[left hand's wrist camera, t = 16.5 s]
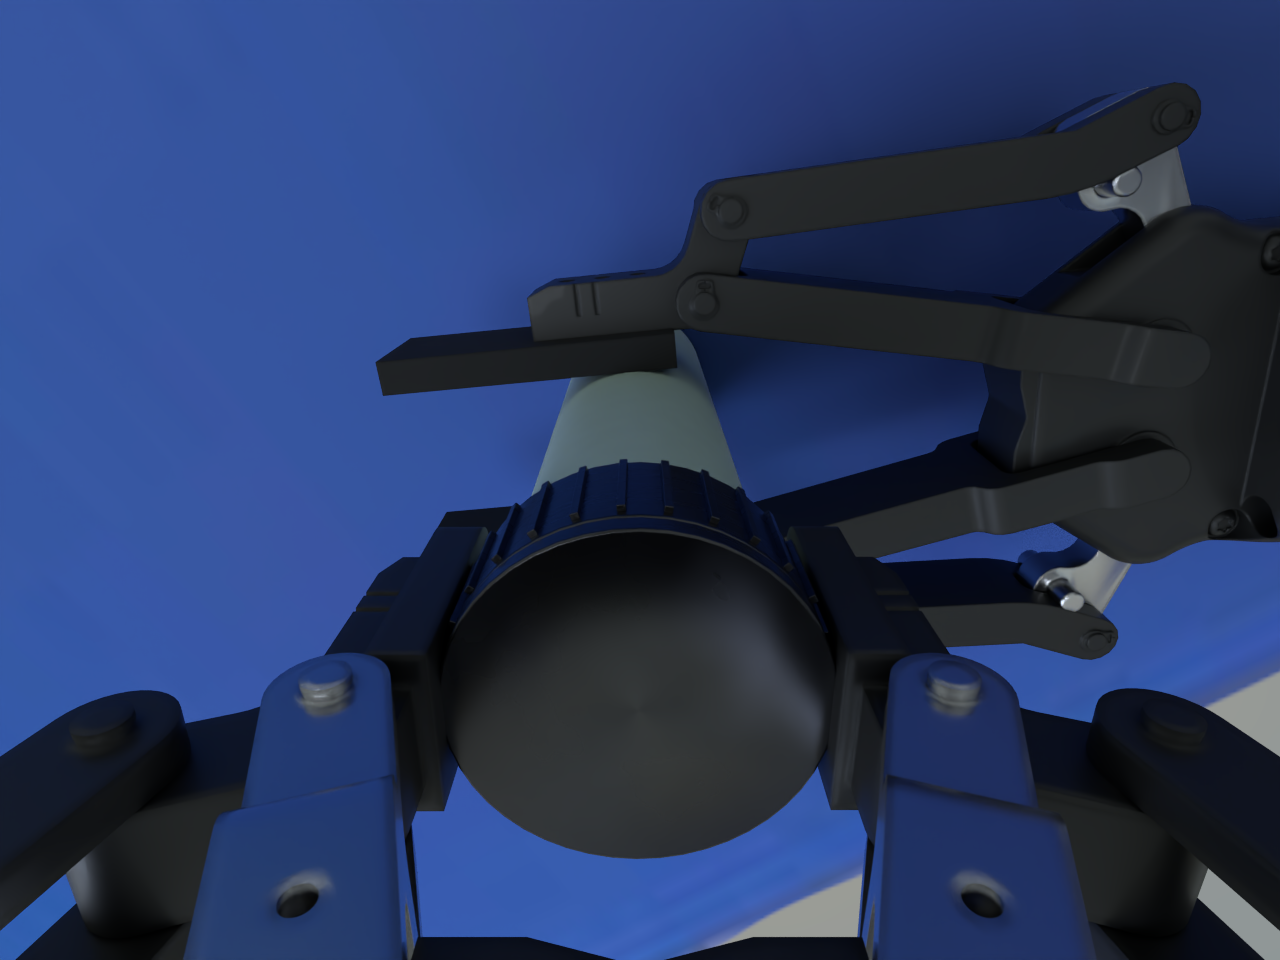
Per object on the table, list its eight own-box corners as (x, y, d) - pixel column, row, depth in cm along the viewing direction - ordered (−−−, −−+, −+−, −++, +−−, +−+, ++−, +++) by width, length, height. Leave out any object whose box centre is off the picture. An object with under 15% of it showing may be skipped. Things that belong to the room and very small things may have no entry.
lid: (870, 643, 11) (921, 743, 9) (607, 798, 12) (601, 918, 10) (677, 383, 10) (686, 435, 8) (398, 584, 11) (343, 675, 9)
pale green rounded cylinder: (638, 458, 26) (639, 850, 11) (550, 376, 25) (412, 683, 10) (725, 375, 25) (863, 679, 10) (637, 285, 24) (636, 470, 9)
